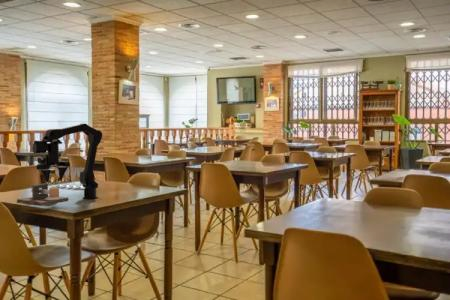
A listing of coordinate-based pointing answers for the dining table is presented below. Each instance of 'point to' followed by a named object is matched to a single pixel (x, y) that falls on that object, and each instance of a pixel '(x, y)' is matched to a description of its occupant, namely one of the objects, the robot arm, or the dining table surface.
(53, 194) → the pin
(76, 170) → the goblet set
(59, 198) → the eye board
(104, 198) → the dining table surface
